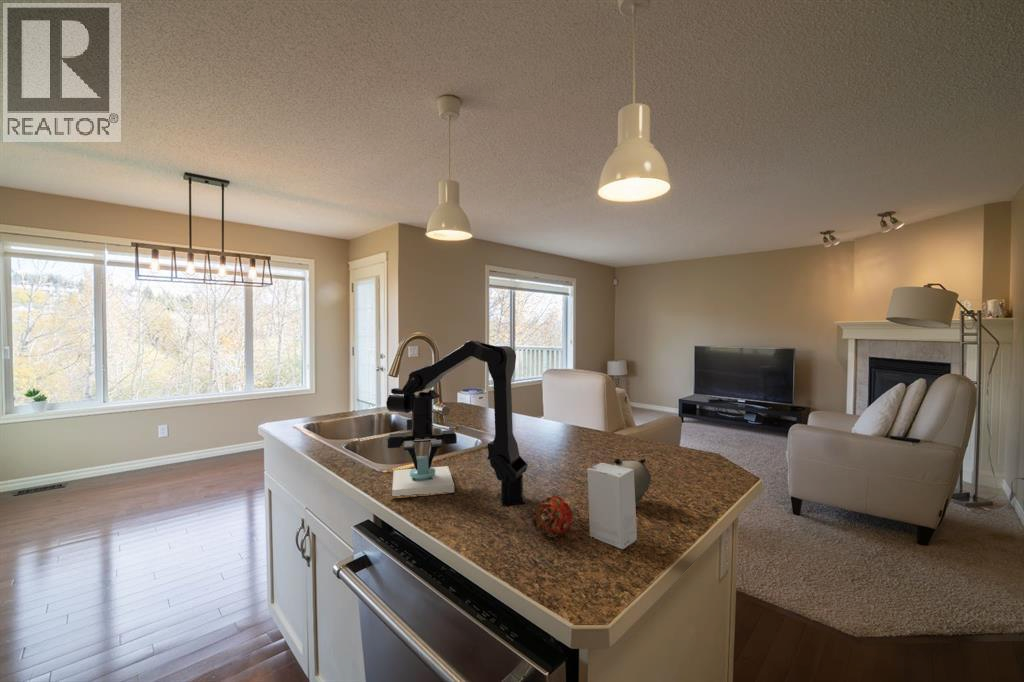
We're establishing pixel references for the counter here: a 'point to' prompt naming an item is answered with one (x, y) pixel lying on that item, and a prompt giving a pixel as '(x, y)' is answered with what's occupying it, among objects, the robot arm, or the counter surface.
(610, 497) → the skincare box
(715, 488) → the counter surface
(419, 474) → the cap
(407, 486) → the white slab
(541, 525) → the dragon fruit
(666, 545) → the counter surface
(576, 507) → the counter surface
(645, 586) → the counter surface
